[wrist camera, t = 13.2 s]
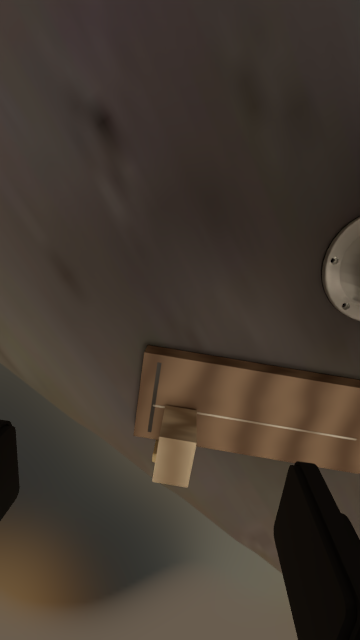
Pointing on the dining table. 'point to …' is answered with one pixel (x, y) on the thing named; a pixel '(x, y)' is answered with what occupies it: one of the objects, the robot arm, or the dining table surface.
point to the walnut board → (254, 407)
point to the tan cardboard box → (175, 446)
